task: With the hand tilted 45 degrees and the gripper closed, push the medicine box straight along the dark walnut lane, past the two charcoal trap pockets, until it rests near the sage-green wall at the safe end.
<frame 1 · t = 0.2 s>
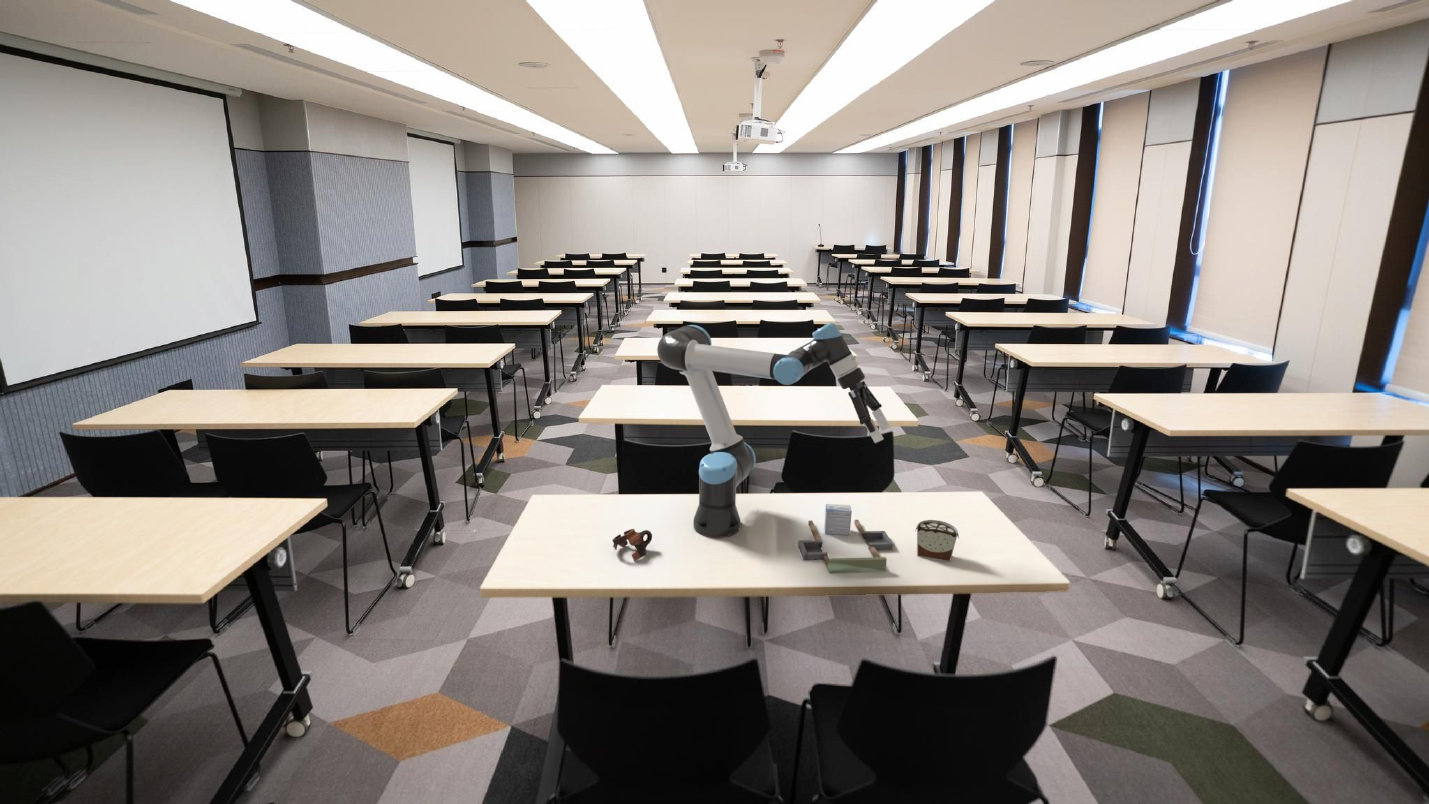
hand: (882, 434, 201), 35 cm above the table, tool tilted 35°, fingers open, 13 cm apart
walnut lane: (843, 545, 208), on the table
medicine box: (836, 532, 216), on the table
trap pockets: (843, 545, 208), on the table
brown looped part: (633, 552, 202), on the table
food container: (933, 554, 204), on the table
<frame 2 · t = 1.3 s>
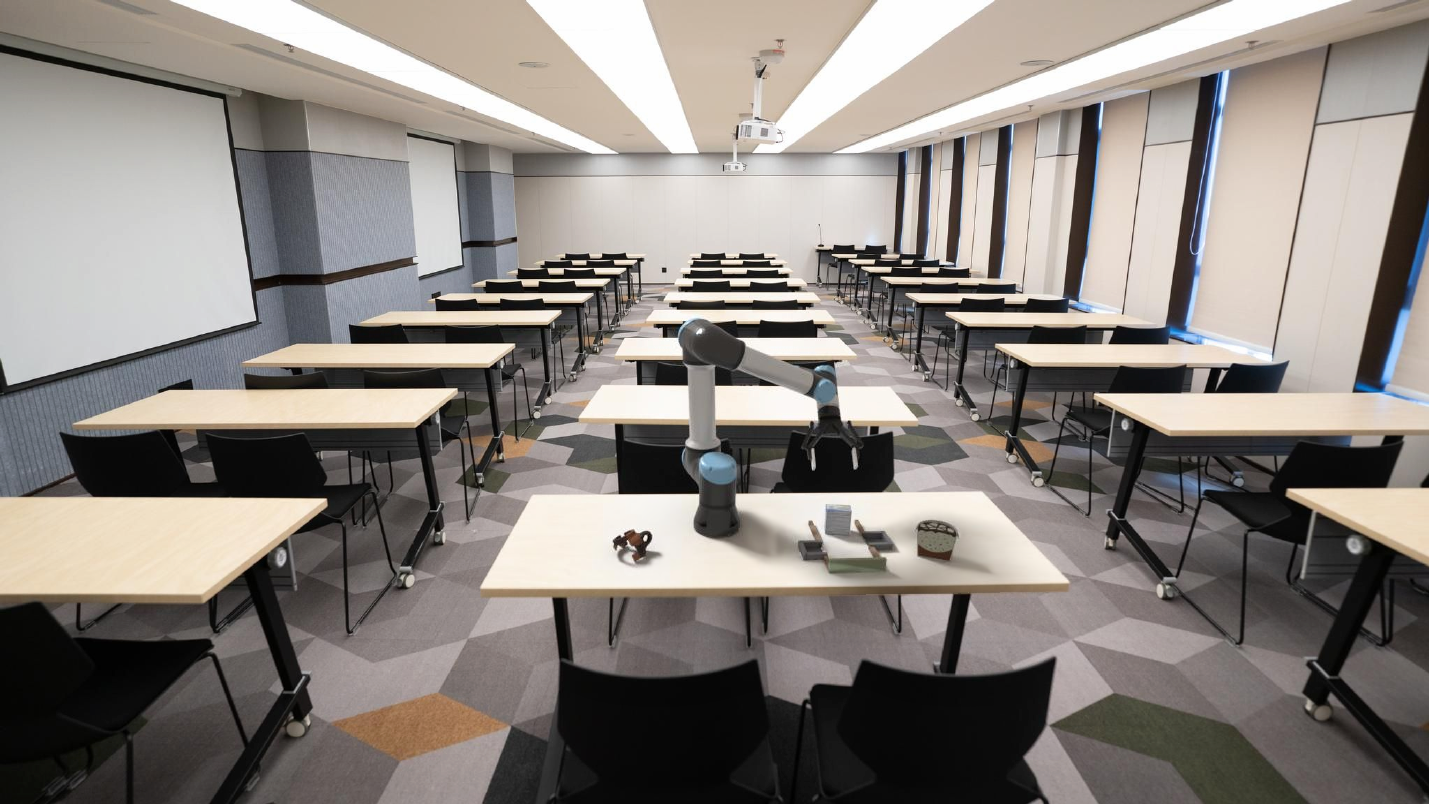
hand: (834, 468, 219), 18 cm above the table, tool tilted 45°, fingers open, 13 cm apart
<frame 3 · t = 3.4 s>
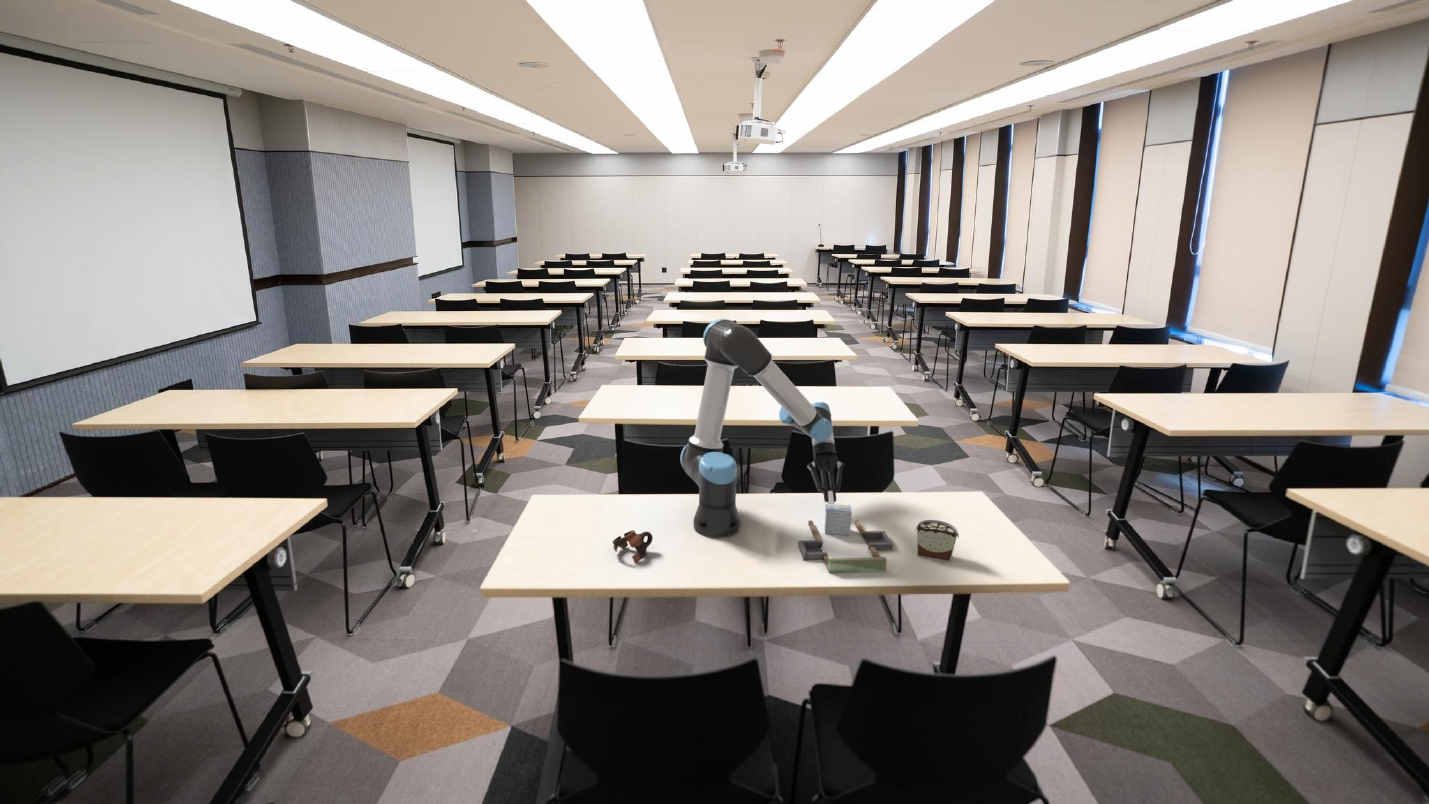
hand: (831, 511, 223), 3 cm above the table, tool tilted 45°, fingers closed
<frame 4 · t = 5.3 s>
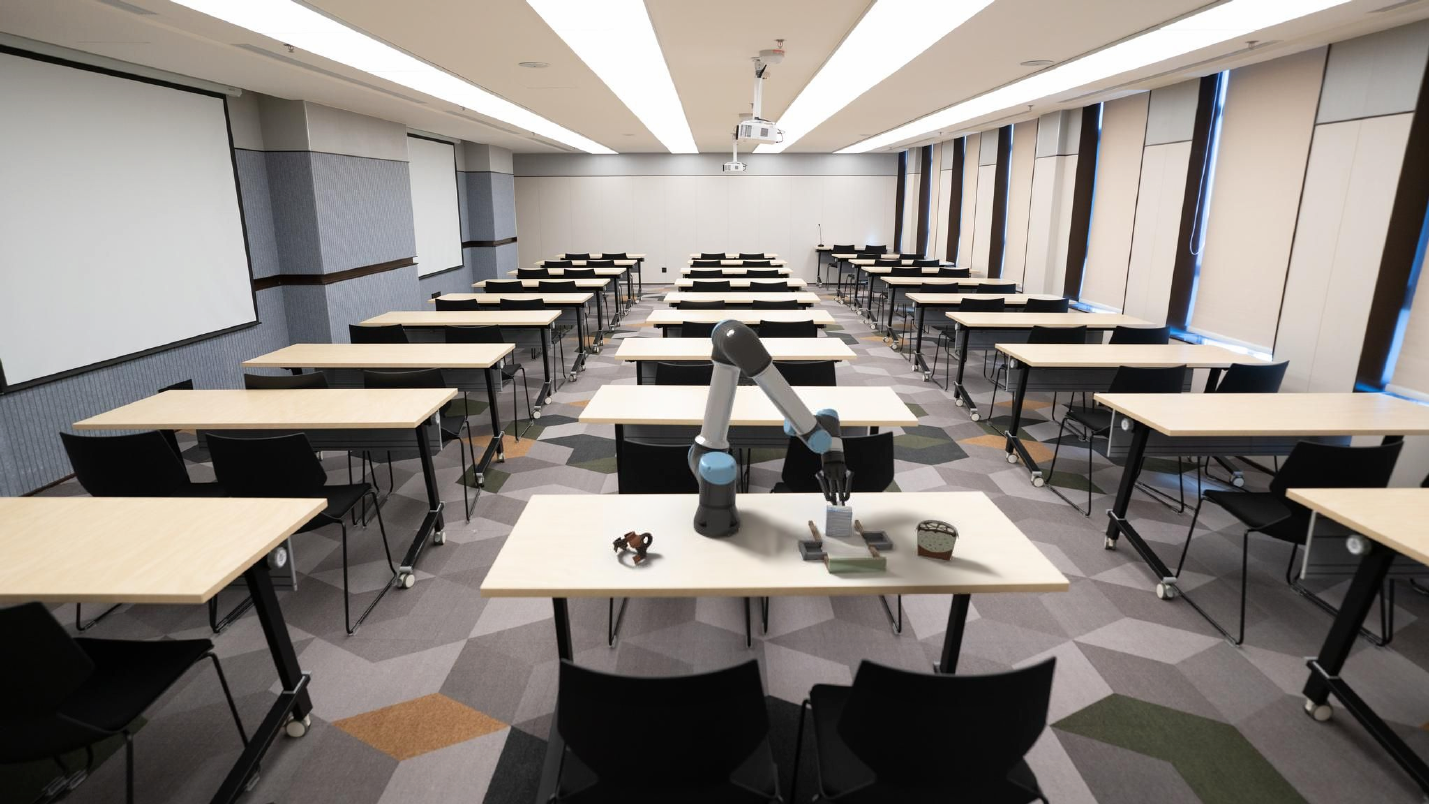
hand: (840, 521, 218), 2 cm above the table, tool tilted 45°, fingers closed
medicine box: (837, 533, 215), on the table
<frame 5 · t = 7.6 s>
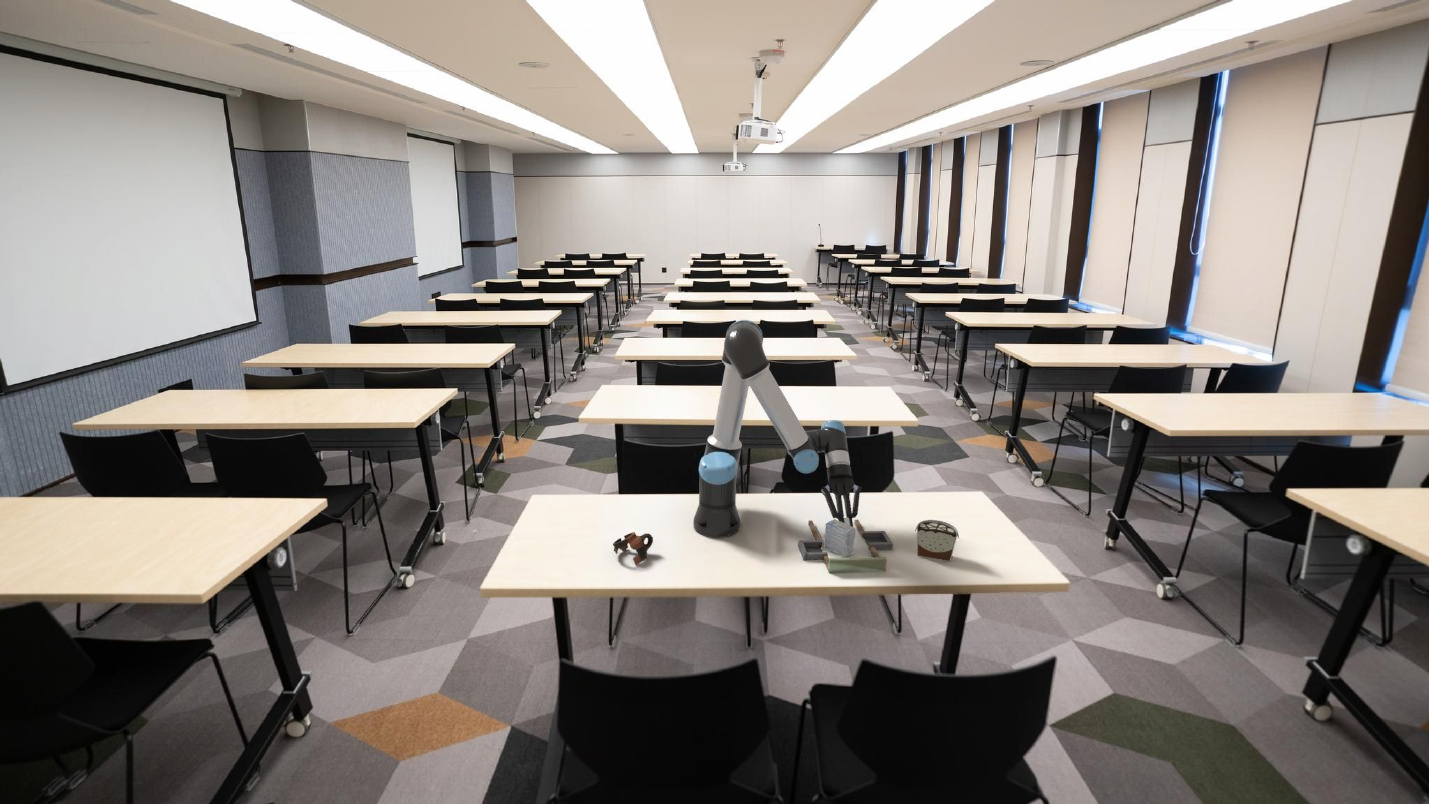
hand: (848, 539, 206), 3 cm above the table, tool tilted 45°, fingers closed
medicine box: (838, 551, 205), on the table
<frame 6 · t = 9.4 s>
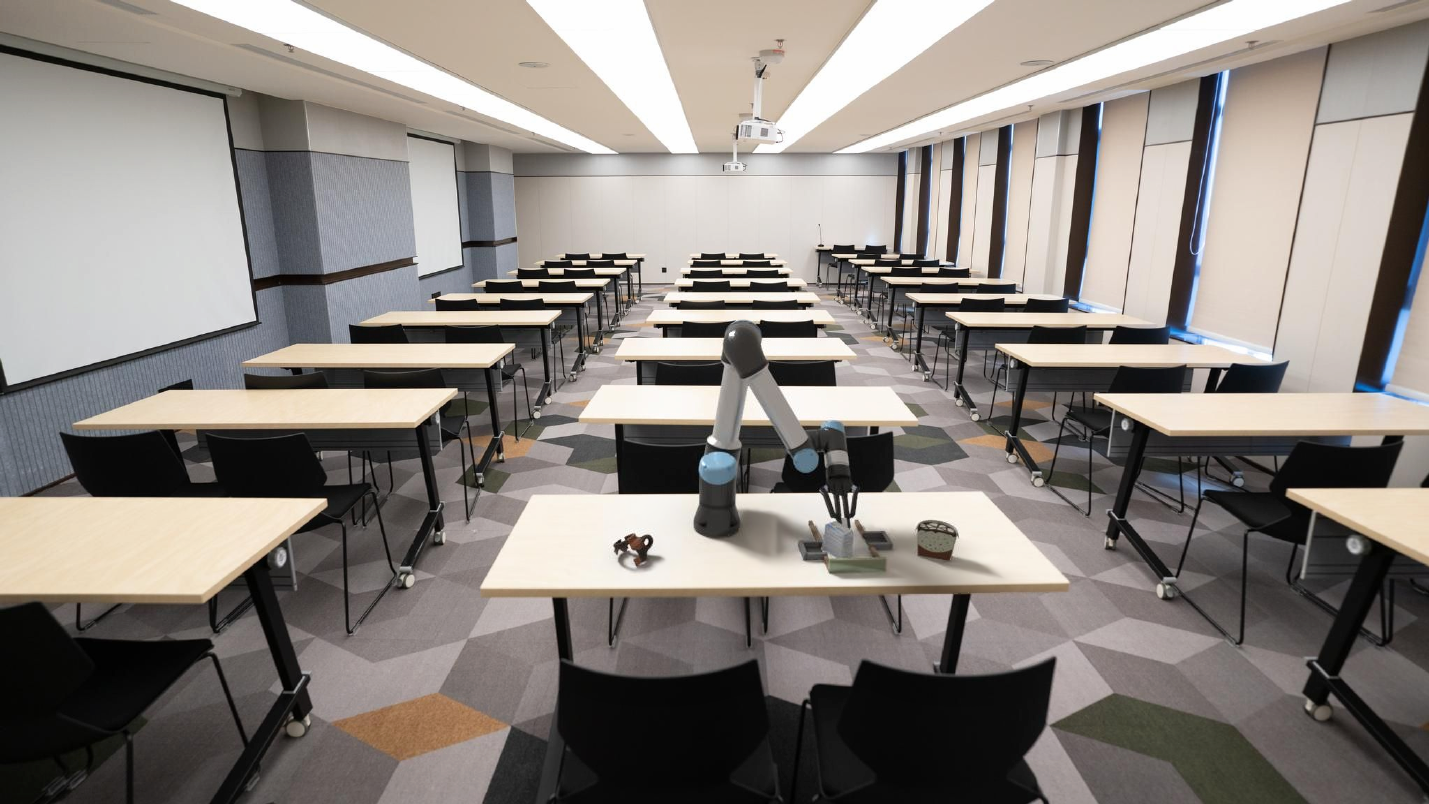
hand: (845, 539, 206), 3 cm above the table, tool tilted 45°, fingers closed
medicine box: (837, 553, 204), on the table
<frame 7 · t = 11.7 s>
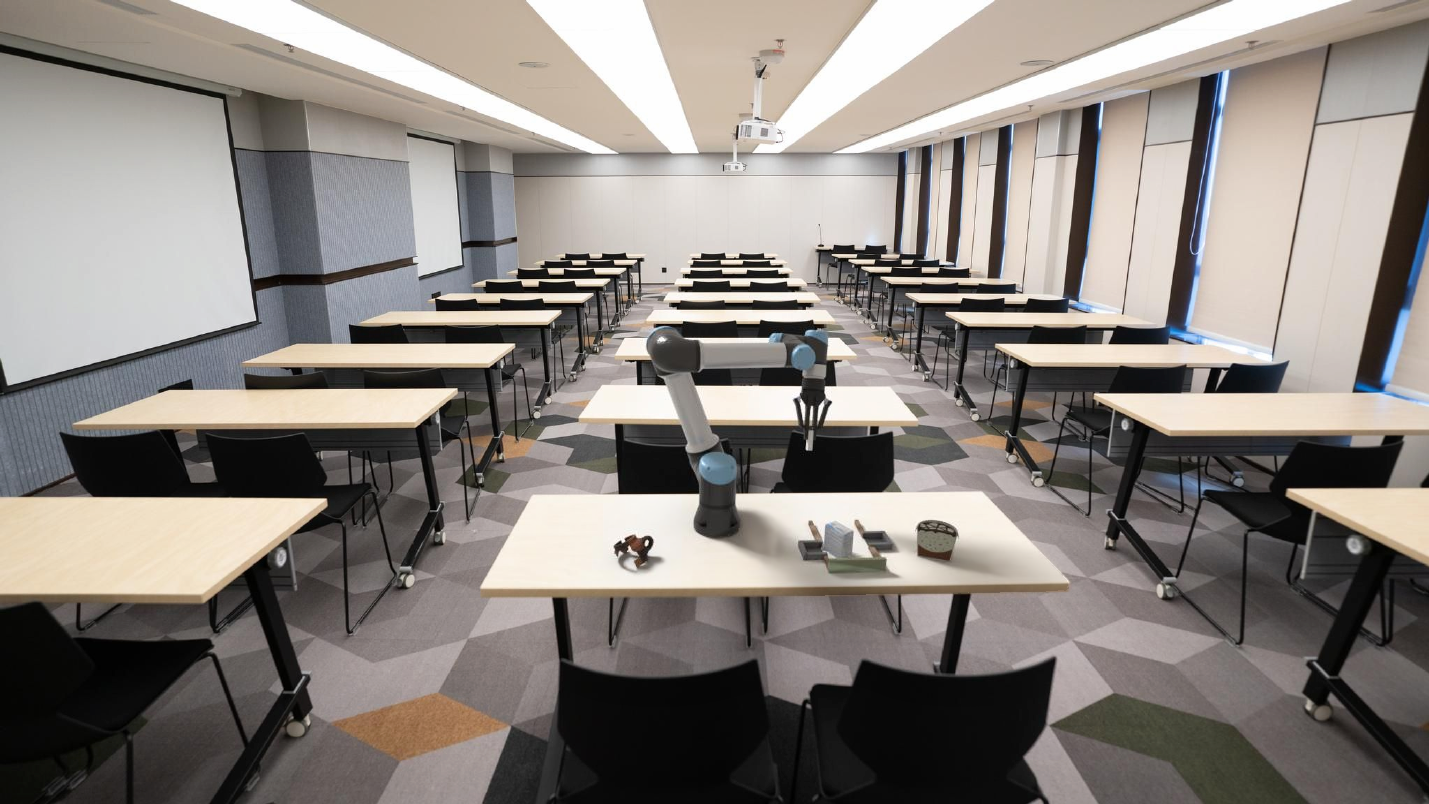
hand: (808, 450, 221), 23 cm above the table, tool tilted 20°, fingers closed
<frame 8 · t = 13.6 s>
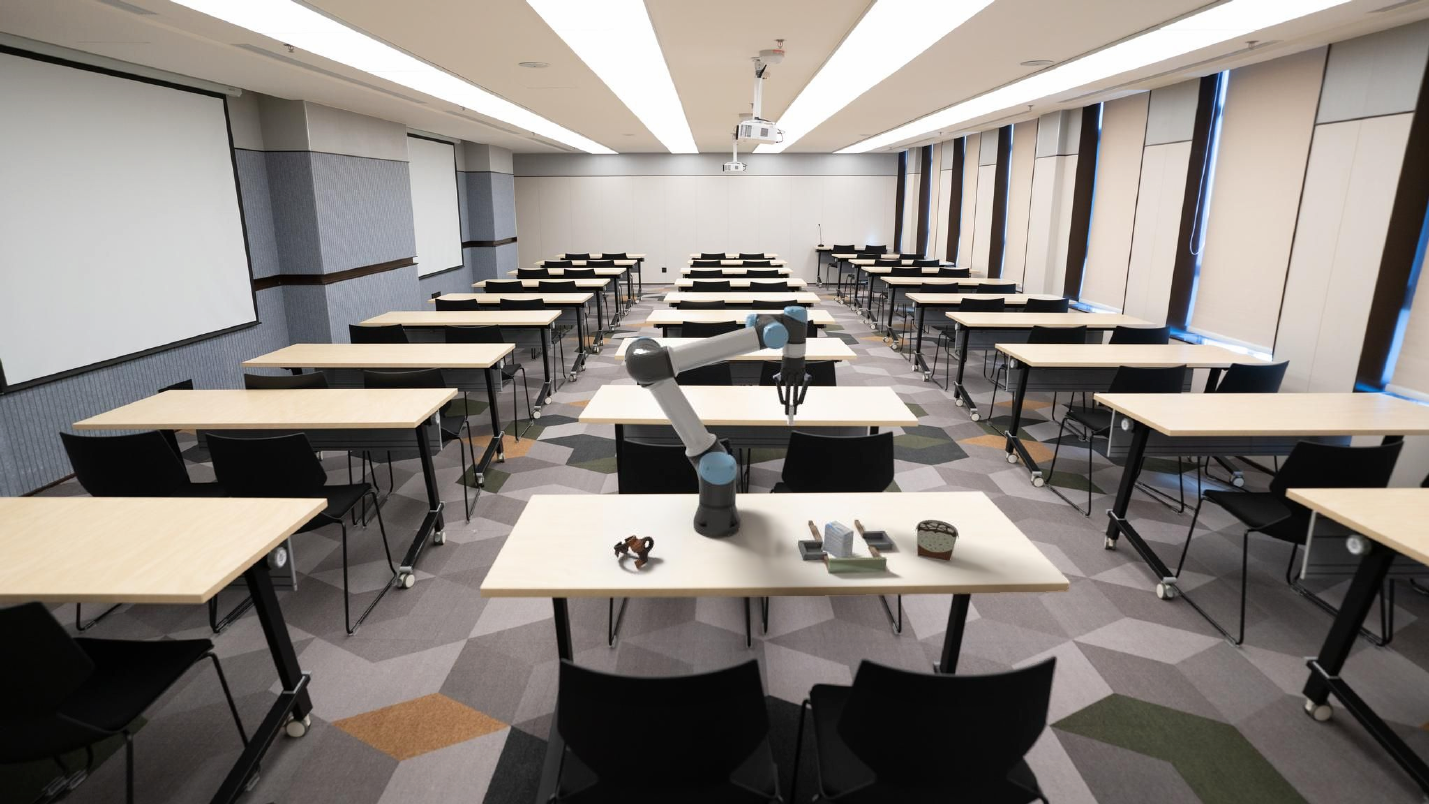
hand: (790, 424, 226), 29 cm above the table, tool pointing down, fingers closed
at the end: medicine box inside the target area (3.7 cm from its centre), on the table; medicine box tilted 0°; medicine box touching table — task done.
